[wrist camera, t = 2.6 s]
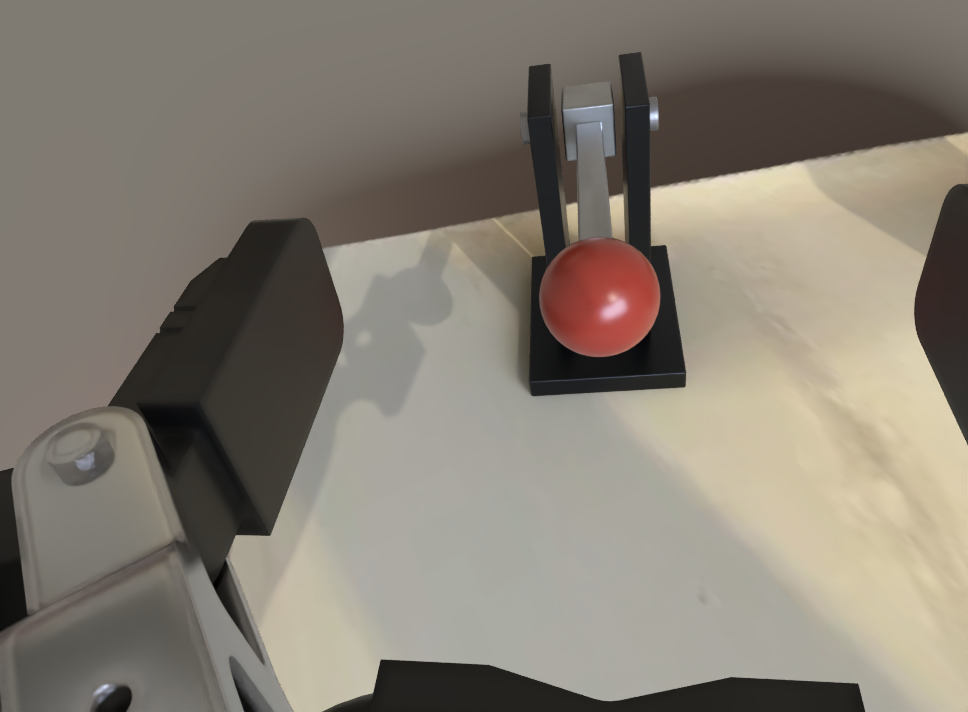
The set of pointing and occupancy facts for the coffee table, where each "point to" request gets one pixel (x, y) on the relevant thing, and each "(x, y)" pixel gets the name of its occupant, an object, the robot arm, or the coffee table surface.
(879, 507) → the coffee table surface
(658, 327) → the black lever stand
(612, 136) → the red knobbed lever
